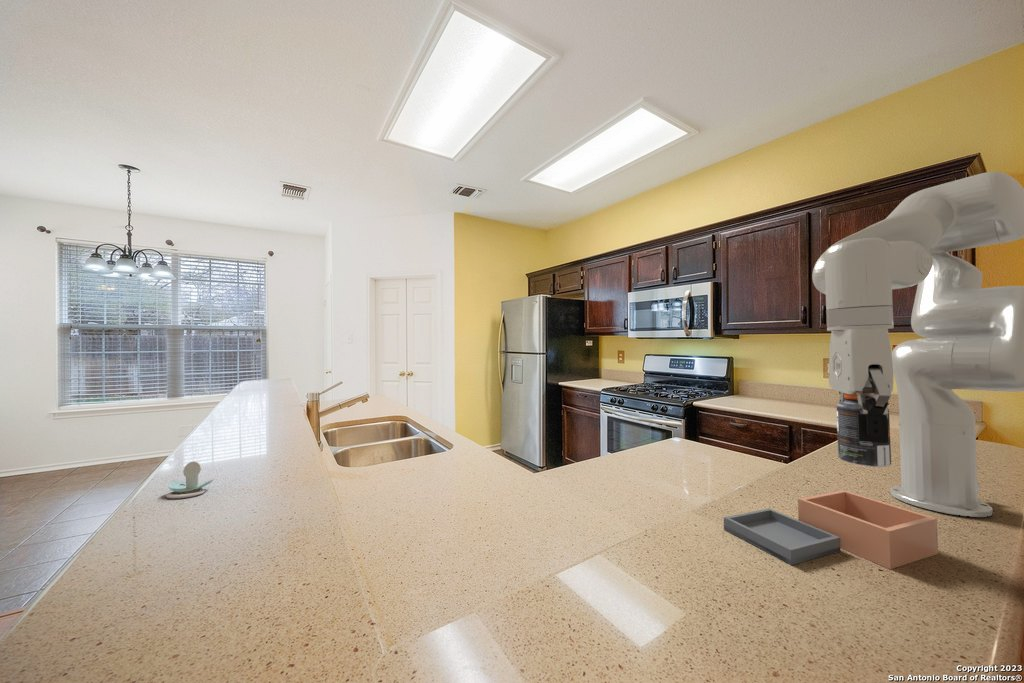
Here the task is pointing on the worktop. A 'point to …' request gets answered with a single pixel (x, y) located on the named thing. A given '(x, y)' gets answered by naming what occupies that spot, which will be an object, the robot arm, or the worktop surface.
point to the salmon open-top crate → (872, 527)
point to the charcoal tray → (782, 535)
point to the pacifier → (188, 483)
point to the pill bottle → (848, 437)
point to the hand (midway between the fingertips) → (862, 435)
